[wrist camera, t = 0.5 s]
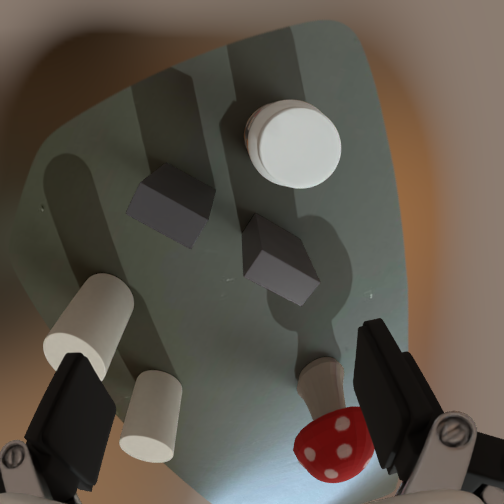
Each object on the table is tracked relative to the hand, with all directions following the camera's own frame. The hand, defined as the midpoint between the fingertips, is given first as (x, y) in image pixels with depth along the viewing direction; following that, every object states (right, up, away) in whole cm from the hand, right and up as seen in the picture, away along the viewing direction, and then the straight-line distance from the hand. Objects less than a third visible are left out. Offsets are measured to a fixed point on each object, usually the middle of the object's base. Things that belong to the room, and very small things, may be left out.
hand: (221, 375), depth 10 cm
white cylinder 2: (-11, -13, +27) cm, 32 cm away
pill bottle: (+3, +14, +16) cm, 21 cm away
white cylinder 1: (-14, -1, +22) cm, 26 cm away
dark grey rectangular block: (+3, +5, +20) cm, 21 cm away
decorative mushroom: (+9, -11, +28) cm, 31 cm away
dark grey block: (-5, +10, +17) cm, 20 cm away
